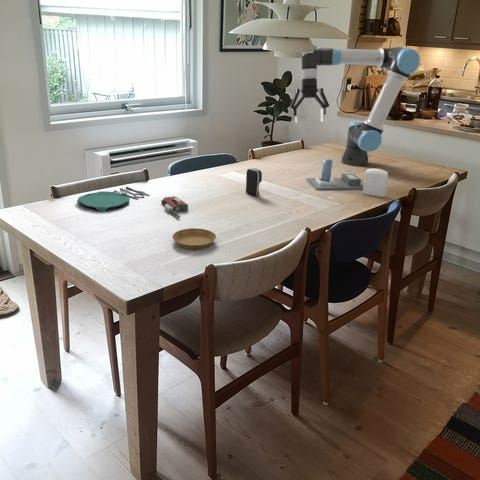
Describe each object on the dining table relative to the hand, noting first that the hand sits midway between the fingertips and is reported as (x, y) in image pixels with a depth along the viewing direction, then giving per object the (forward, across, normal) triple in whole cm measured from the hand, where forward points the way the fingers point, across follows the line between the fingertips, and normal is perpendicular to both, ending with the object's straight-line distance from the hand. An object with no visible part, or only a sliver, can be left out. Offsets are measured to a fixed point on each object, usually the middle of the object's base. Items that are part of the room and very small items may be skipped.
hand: (309, 122), depth 252 cm
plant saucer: (+39, +70, +82) cm, 115 cm away
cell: (+29, -1, +20) cm, 35 cm away
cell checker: (+30, -6, +20) cm, 36 cm away
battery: (+30, +38, +31) cm, 58 cm away
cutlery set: (+29, +98, +36) cm, 109 cm away
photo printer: (+34, -18, +36) cm, 53 cm away
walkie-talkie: (+33, +74, +49) cm, 95 cm away
